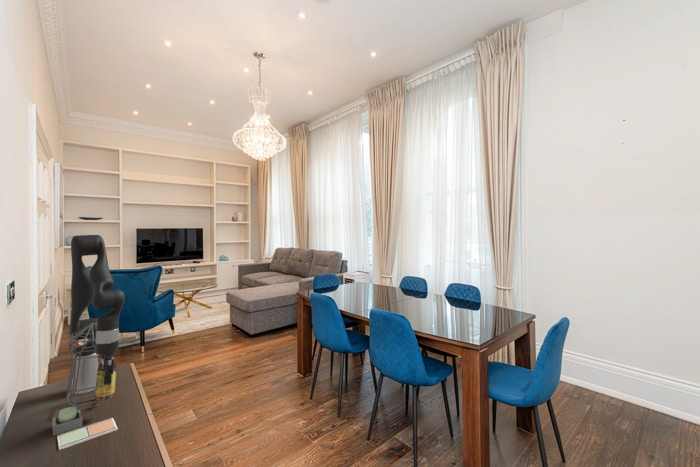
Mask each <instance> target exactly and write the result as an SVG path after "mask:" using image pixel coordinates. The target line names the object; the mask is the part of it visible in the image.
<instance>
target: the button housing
mask: <svg viewBox="0 0 700 467" xmlns="http://www.w3.org/2000/svg"><path fill="white" fill-rule="evenodd" d="M80 410H81V409H78V411H76V419H75V420H71V421H68V422H65V423H62V424H58V422H59V415H57V416H55V417H52V419H51V420H52V422H51V429H52V436H53V437H54V436H57V435H60V434H63V433H66V432H70V431H73V430H76V429H79V428H82V427H83V421H84V420H83V415H82V410H81V411H80Z"/></svg>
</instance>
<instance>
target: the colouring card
mask: <svg viewBox="0 0 700 467" xmlns="http://www.w3.org/2000/svg"><path fill="white" fill-rule="evenodd" d="M118 430H119V429H118V426H117V424H116V421H115V420H114V418H113V417H110V418H108V419H104V420H101V421H98V422H95V423H92V424H89V425H86V426H82V427H79V428H76V429H73V430H70V431H67V432H64V433H61V434H58V435H56V436H57V437H56V438H57V443H58V451H61V449H62V450H64V449H67V448H70V447H73V446H75V445H78V444H81V443H84V442H88V441H91V440H93V439H96V438H98V437H101V436H104V435H107V434H109V433H113V432H116V431H118Z"/></svg>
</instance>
